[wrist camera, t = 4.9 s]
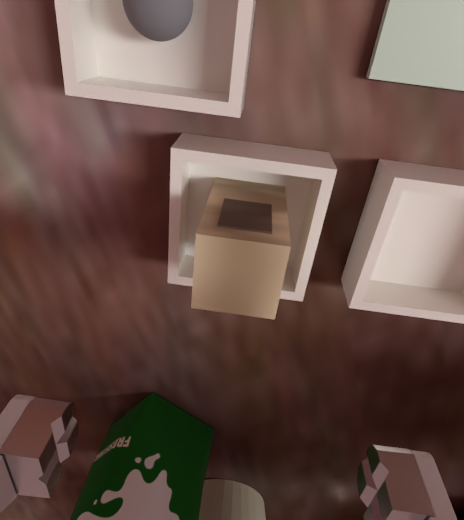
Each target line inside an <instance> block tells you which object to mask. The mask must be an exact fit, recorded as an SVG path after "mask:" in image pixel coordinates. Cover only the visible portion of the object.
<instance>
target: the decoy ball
mask: <svg viewBox="0 0 464 520" xmlns="http://www.w3.org/2000/svg"><path fill="white" fill-rule="evenodd" d="M122 2H123V7H124V11H125V13H126V16H127V18H128V20H129V22H130V23H131V25H132V26H133V27H134V28H135V29H136V30H137V31H138V32H139V33H140V34H141V35H143V36H144V37H146V38H148V39H150V40H154V41H160V42H163V41H169V40H172V39H174V38H176V37H178V36H179V35H180V34H182V33H183V31H184V30H185V29H186V28H187V26H188V24H189V22H190V20H191V17H192V12H193V0H122Z"/></svg>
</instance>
